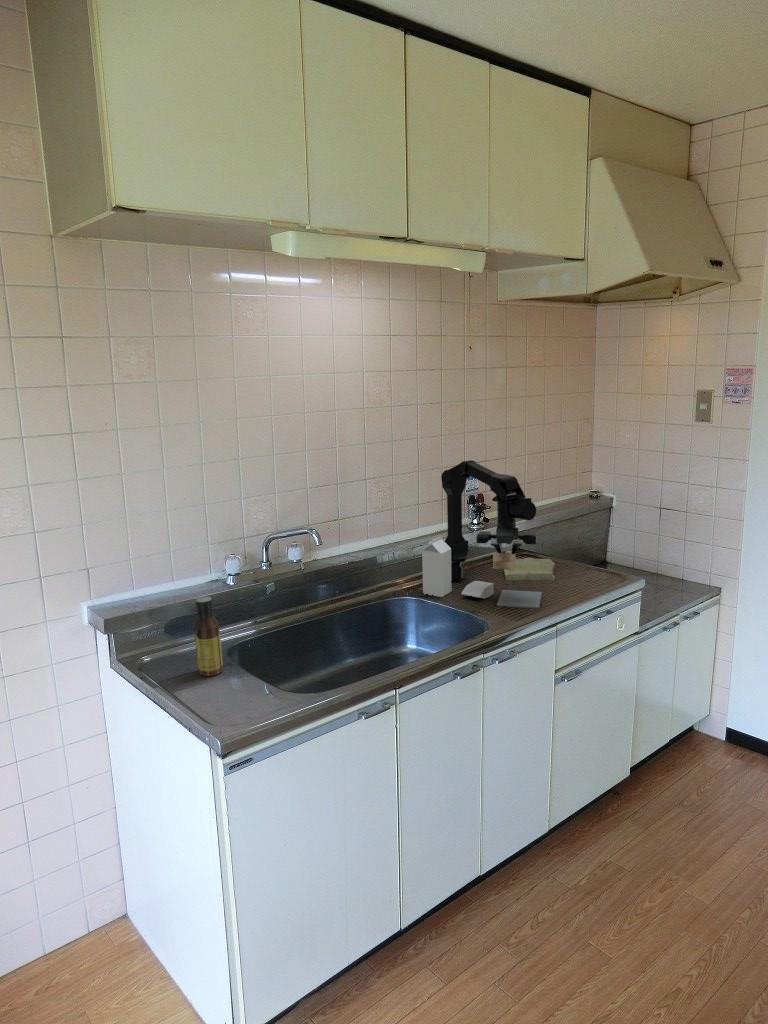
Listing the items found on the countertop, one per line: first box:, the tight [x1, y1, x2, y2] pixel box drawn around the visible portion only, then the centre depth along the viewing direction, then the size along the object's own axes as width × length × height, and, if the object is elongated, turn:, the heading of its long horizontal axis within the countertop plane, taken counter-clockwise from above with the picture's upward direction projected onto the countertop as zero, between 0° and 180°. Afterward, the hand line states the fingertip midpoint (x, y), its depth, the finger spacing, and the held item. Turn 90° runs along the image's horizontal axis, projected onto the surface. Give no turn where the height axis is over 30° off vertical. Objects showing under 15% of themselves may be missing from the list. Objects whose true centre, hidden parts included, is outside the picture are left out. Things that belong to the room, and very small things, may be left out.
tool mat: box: [496, 589, 543, 610], centre depth 236 cm, size 13×15×1 cm
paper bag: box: [460, 580, 495, 600], centre depth 241 cm, size 4×7×10 cm
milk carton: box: [421, 535, 453, 598], centre depth 243 cm, size 7×7×19 cm
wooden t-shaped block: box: [492, 549, 517, 570], centre depth 236 cm, size 7×11×5 cm, turn 158°
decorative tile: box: [503, 557, 556, 581], centre depth 266 cm, size 19×20×4 cm
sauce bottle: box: [193, 596, 224, 677], centre depth 185 cm, size 7×6×20 cm
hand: (507, 563), depth 235 cm, fingers closed on wooden t-shaped block, 3 cm apart
